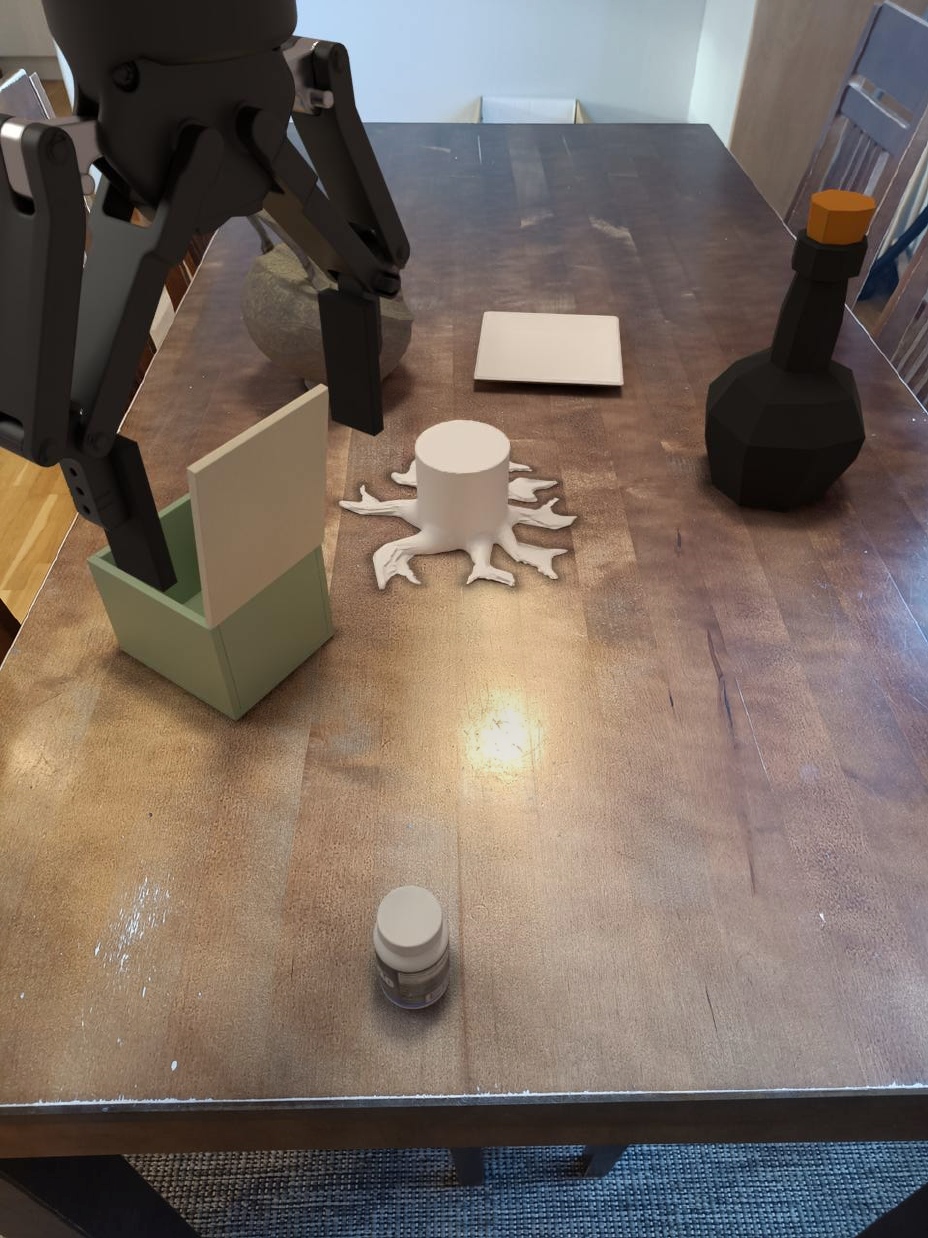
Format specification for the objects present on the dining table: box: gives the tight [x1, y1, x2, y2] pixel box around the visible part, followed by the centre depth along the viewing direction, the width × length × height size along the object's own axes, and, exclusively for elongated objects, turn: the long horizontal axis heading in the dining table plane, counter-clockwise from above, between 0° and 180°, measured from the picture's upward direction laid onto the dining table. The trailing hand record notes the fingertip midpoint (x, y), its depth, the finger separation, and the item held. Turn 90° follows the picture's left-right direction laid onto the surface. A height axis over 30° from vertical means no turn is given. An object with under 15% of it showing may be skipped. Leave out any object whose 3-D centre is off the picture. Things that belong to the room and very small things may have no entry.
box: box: [86, 491, 335, 722], centre depth 78 cm, size 15×13×11 cm
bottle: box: [704, 188, 876, 513], centre depth 89 cm, size 16×16×30 cm
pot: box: [240, 208, 416, 391], centre depth 106 cm, size 21×21×25 cm
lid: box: [186, 384, 330, 628], centre depth 65 cm, size 15×13×1 cm
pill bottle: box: [372, 885, 451, 1010], centre depth 57 cm, size 5×5×8 cm
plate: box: [473, 310, 625, 388], centre depth 119 cm, size 19×19×2 cm
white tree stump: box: [338, 419, 578, 590], centre depth 92 cm, size 23×25×9 cm
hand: (263, 493), depth 40 cm, fingers open, 13 cm apart
